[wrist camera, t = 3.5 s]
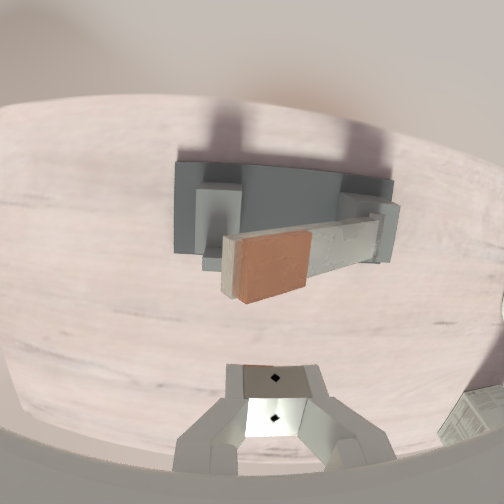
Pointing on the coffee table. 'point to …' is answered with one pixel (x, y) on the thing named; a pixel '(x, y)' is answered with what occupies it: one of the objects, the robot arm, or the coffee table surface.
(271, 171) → the base
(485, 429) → the supplement box
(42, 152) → the coffee table surface
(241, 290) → the bar
